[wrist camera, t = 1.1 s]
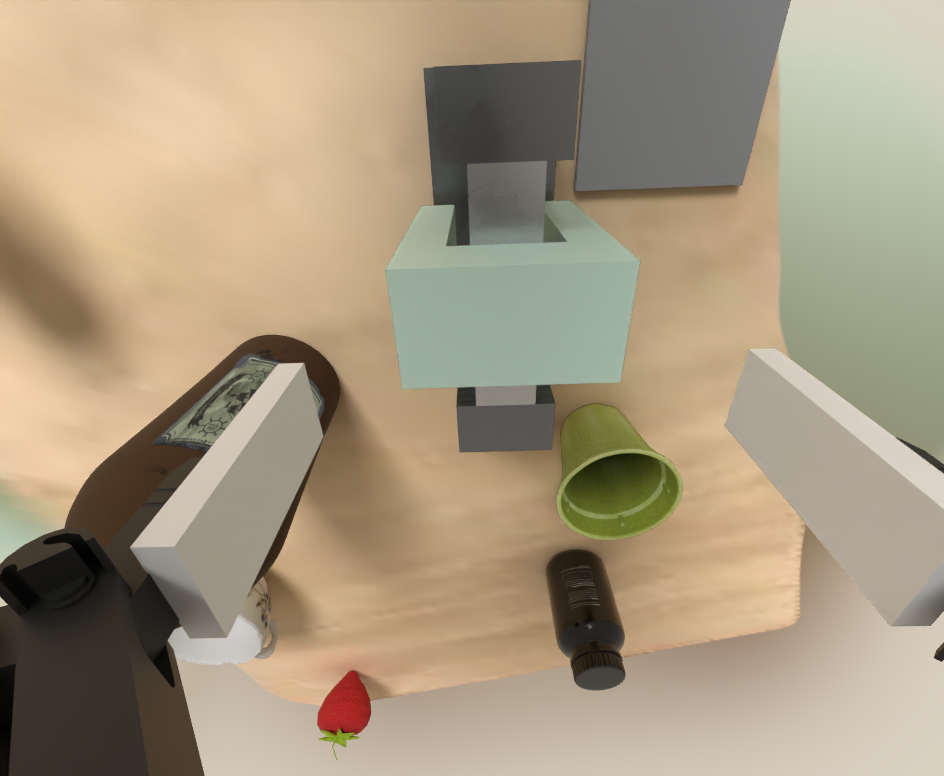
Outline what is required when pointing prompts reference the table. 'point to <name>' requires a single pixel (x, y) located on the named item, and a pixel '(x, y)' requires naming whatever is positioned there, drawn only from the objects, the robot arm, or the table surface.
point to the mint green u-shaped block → (511, 304)
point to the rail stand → (501, 201)
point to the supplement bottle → (586, 619)
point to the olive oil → (198, 436)
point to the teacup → (233, 635)
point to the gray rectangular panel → (673, 91)
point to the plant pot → (612, 477)
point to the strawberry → (345, 710)
